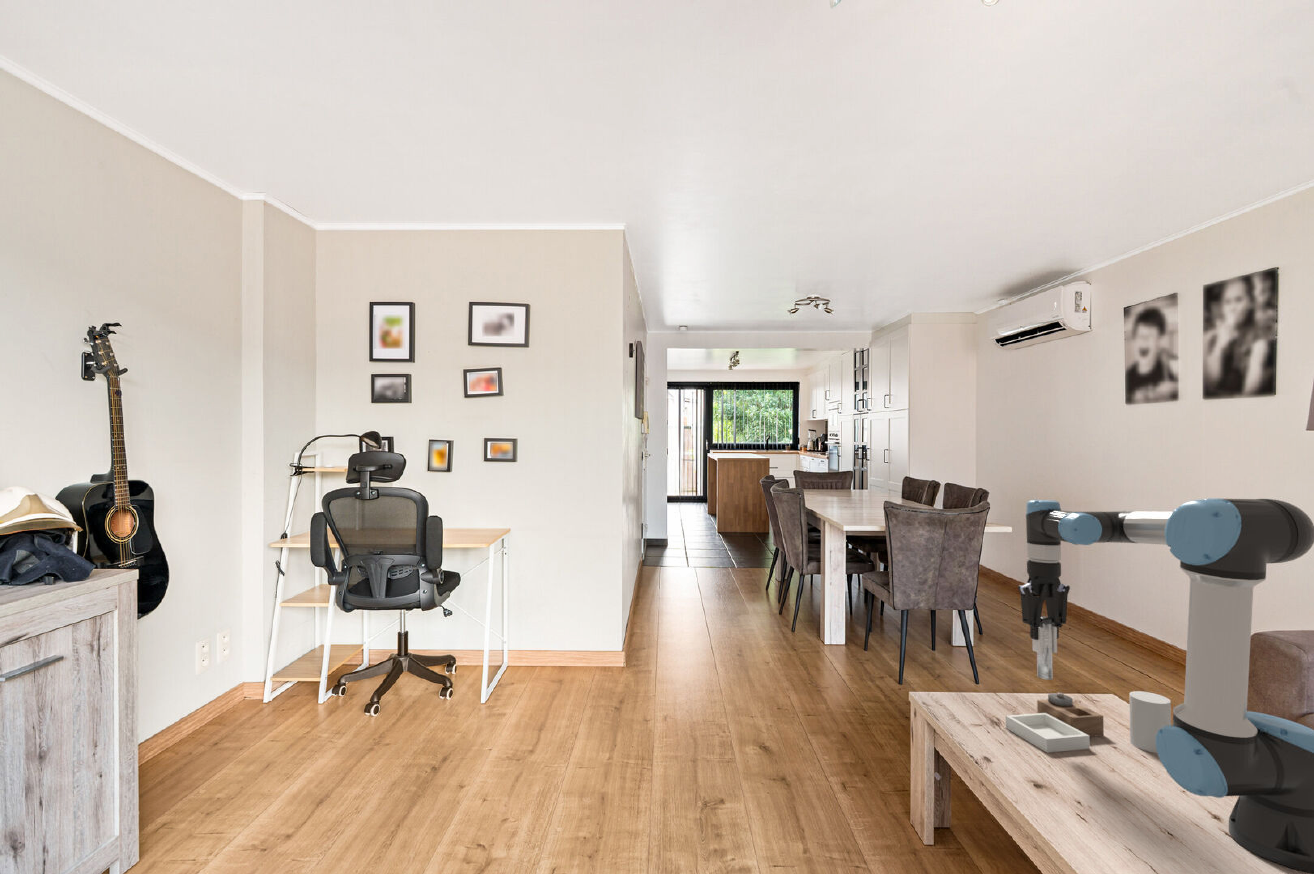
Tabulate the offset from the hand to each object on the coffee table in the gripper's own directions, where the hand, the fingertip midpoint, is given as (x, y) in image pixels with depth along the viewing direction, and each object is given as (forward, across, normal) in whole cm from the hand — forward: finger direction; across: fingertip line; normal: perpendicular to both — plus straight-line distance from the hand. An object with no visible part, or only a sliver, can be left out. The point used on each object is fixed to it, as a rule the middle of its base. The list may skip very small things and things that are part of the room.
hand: (1044, 651), depth 162 cm
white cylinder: (+22, -22, +8) cm, 33 cm away
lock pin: (+7, 0, 0) cm, 7 cm away
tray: (+22, 0, 0) cm, 22 cm away
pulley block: (+22, -12, -5) cm, 25 cm away
